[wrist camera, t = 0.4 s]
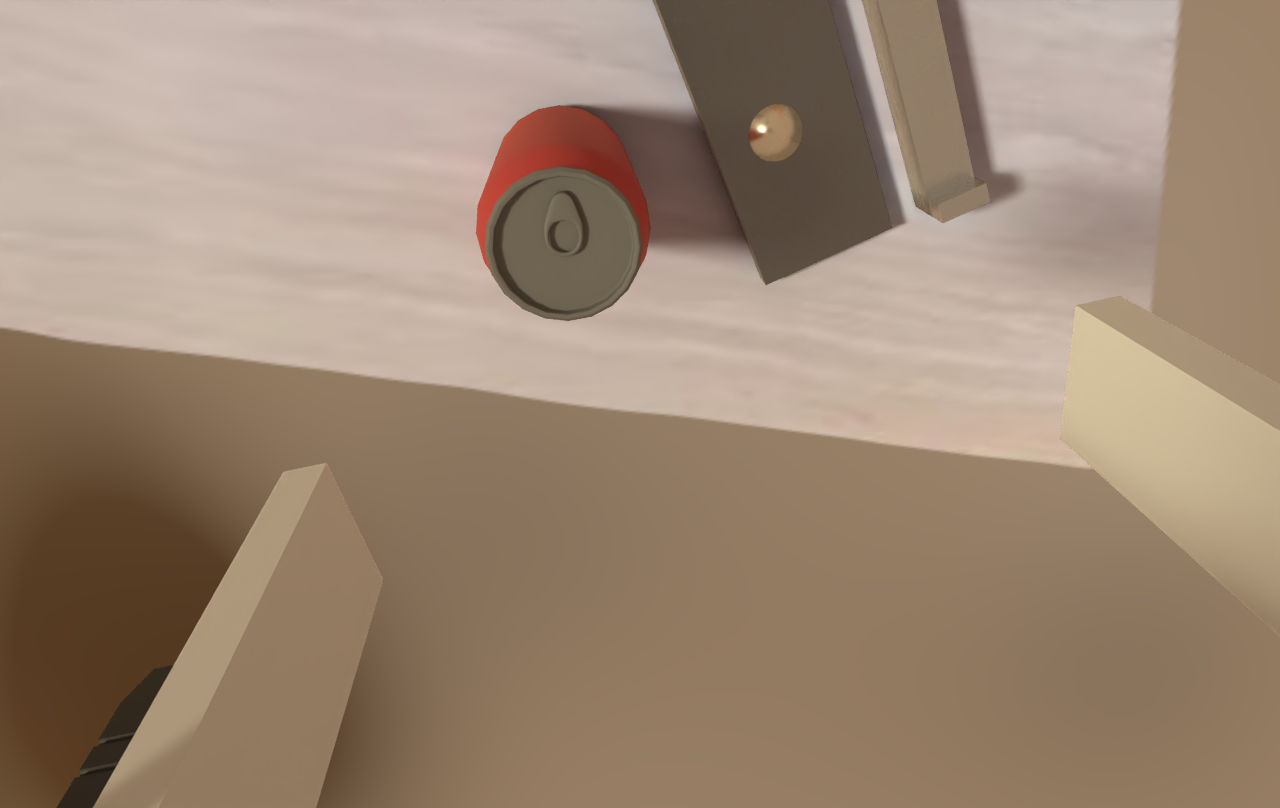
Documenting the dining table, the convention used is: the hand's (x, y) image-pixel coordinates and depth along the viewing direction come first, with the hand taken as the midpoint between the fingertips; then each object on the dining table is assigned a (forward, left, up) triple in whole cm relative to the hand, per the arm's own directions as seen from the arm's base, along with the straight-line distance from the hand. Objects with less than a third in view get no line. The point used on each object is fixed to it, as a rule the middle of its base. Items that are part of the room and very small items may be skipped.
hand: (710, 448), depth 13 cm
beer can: (0, -3, -27) cm, 27 cm away
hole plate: (-3, +8, -27) cm, 28 cm away
